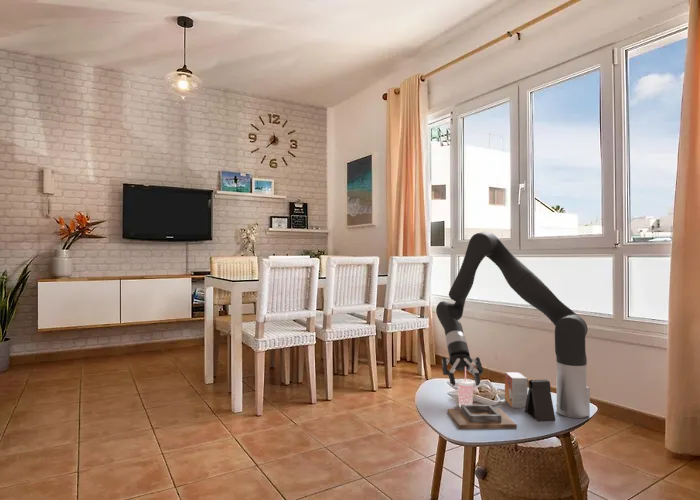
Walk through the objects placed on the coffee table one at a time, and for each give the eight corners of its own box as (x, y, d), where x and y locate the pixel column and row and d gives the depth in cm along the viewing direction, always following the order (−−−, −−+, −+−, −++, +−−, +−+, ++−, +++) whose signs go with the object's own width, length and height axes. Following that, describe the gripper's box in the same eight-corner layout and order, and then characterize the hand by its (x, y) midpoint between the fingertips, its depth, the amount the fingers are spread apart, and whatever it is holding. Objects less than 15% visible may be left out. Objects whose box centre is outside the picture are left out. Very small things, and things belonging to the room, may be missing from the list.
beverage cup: (458, 402, 160) (458, 364, 160) (475, 404, 157) (475, 365, 157) (455, 407, 154) (455, 367, 154) (472, 410, 151) (472, 369, 152)
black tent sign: (555, 421, 142) (555, 384, 142) (537, 421, 141) (537, 384, 142) (541, 411, 151) (541, 376, 151) (524, 411, 150) (524, 376, 151)
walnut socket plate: (499, 412, 150) (499, 402, 150) (516, 428, 136) (516, 417, 136) (447, 412, 149) (447, 403, 149) (459, 428, 135) (459, 418, 135)
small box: (504, 400, 162) (504, 371, 162) (519, 400, 162) (519, 372, 162) (511, 407, 154) (511, 377, 154) (527, 408, 154) (527, 378, 154)
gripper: (440, 340, 164) (448, 379, 152) (477, 339, 164) (488, 379, 153) (436, 351, 169) (444, 389, 157) (473, 351, 170) (483, 389, 158)
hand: (466, 384), depth 155 cm, fingers open, 8 cm apart
